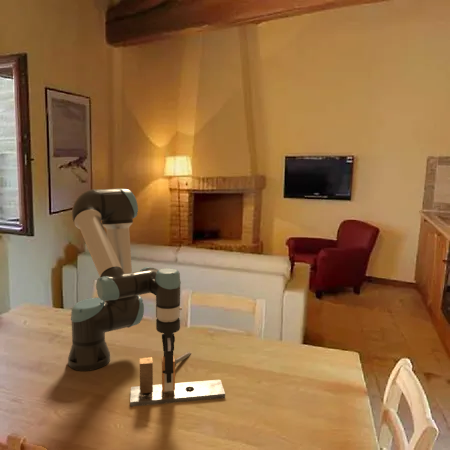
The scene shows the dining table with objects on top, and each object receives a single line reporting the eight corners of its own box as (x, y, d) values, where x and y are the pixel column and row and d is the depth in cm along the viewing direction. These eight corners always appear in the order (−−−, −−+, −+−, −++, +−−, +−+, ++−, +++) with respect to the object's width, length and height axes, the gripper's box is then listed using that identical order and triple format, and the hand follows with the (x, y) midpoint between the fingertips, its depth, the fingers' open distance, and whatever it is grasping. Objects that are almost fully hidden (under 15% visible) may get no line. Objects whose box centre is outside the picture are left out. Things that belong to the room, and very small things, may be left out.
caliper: (167, 378, 149) (167, 362, 148) (164, 378, 149) (164, 361, 148) (191, 354, 168) (191, 339, 167) (188, 354, 168) (188, 339, 167)
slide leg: (161, 386, 139) (161, 356, 138) (174, 385, 140) (174, 355, 138) (162, 393, 135) (162, 362, 134) (175, 392, 136) (175, 361, 135)
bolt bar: (131, 391, 140) (130, 355, 138) (220, 383, 146) (220, 349, 144) (130, 406, 131) (129, 368, 129) (225, 398, 137) (225, 361, 135)
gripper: (182, 327, 126) (182, 400, 130) (178, 308, 143) (178, 372, 147) (156, 329, 125) (157, 402, 129) (155, 309, 142) (156, 374, 145)
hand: (168, 386), depth 138 cm, fingers closed on slide leg, 4 cm apart
